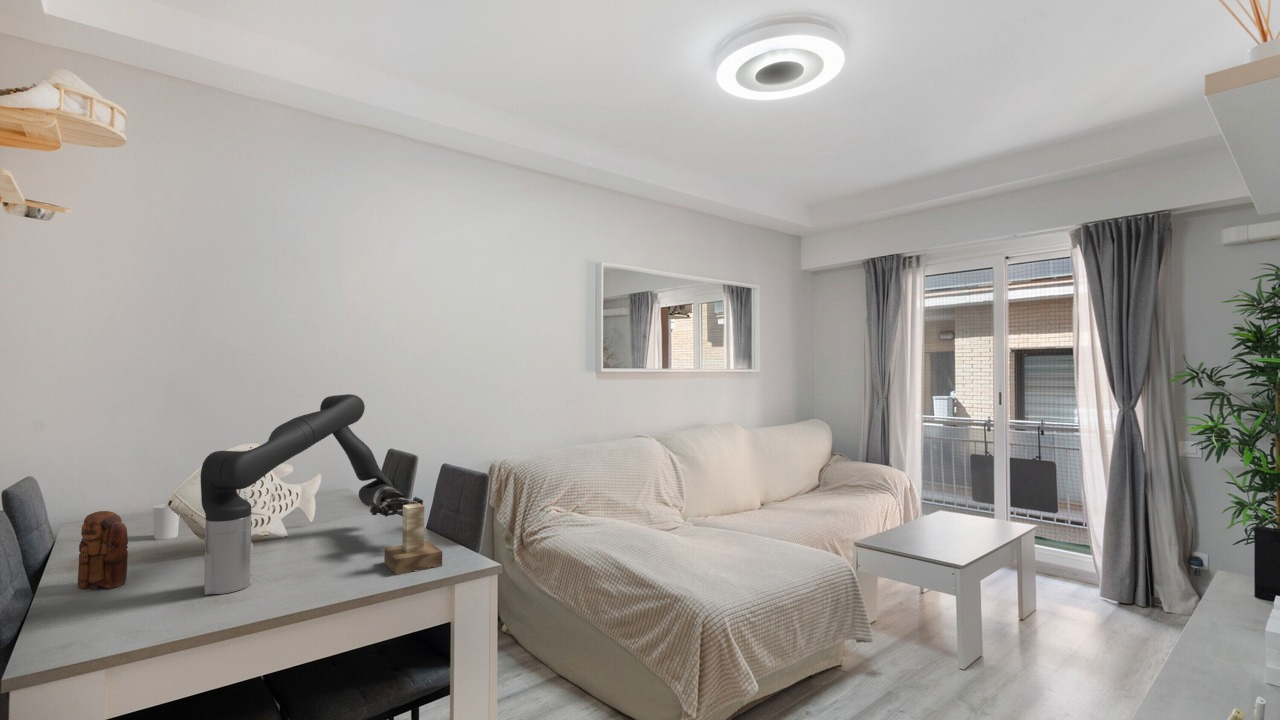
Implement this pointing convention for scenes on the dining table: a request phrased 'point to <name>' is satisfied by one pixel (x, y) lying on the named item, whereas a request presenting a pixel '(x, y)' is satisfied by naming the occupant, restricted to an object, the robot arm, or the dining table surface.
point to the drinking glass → (165, 522)
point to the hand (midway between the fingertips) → (402, 510)
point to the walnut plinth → (412, 558)
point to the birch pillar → (413, 528)
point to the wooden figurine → (103, 551)
